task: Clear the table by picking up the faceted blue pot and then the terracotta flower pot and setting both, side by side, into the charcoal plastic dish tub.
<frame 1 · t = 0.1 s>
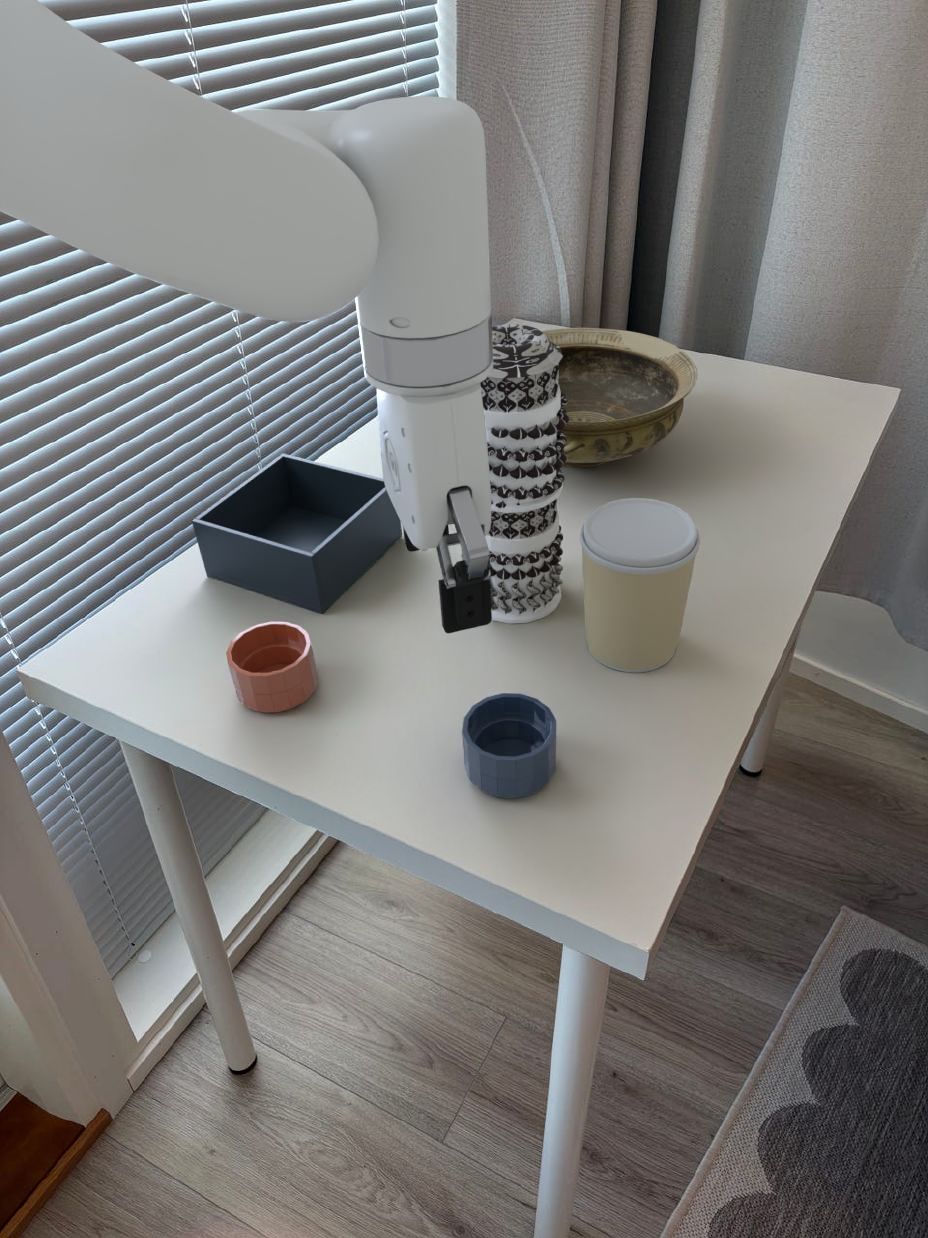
hand: (446, 584, 65), 15 cm above the table, tool pointing down, fingers open, 9 cm apart
faceted blue pot: (510, 767, 72), on the table
ceramic bowl: (581, 451, 109), on the table
decorative candle: (516, 596, 88), on the table
terracotta flower pot: (278, 688, 80), on the table
tub: (306, 556, 95), on the table
coffee cup: (631, 645, 82), on the table
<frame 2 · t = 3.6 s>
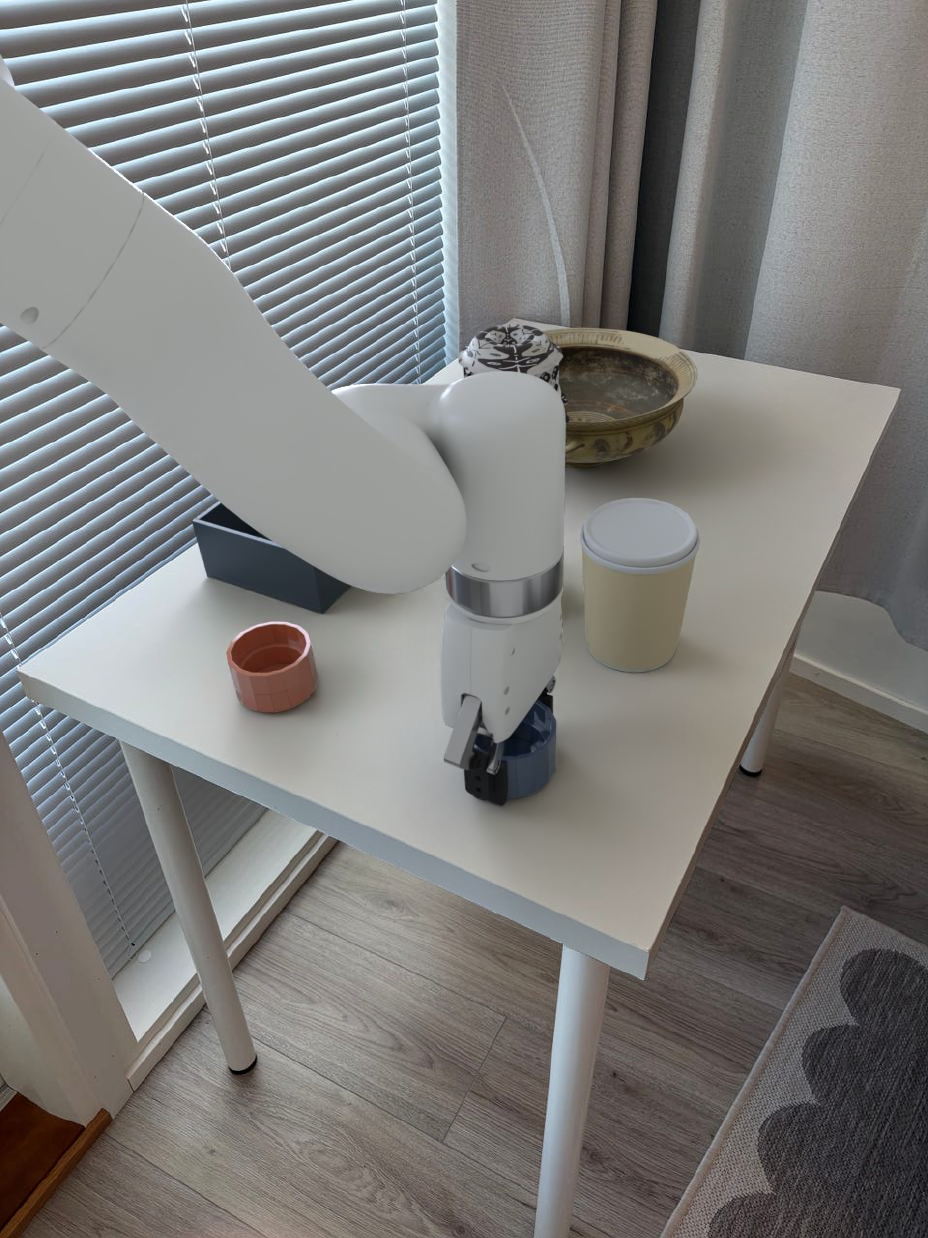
hand: (510, 760, 71), 1 cm above the table, tool pointing down, fingers closed on faceted blue pot, 6 cm apart
faceted blue pot: (510, 767, 72), on the table, touching gripper
everything else where it was.
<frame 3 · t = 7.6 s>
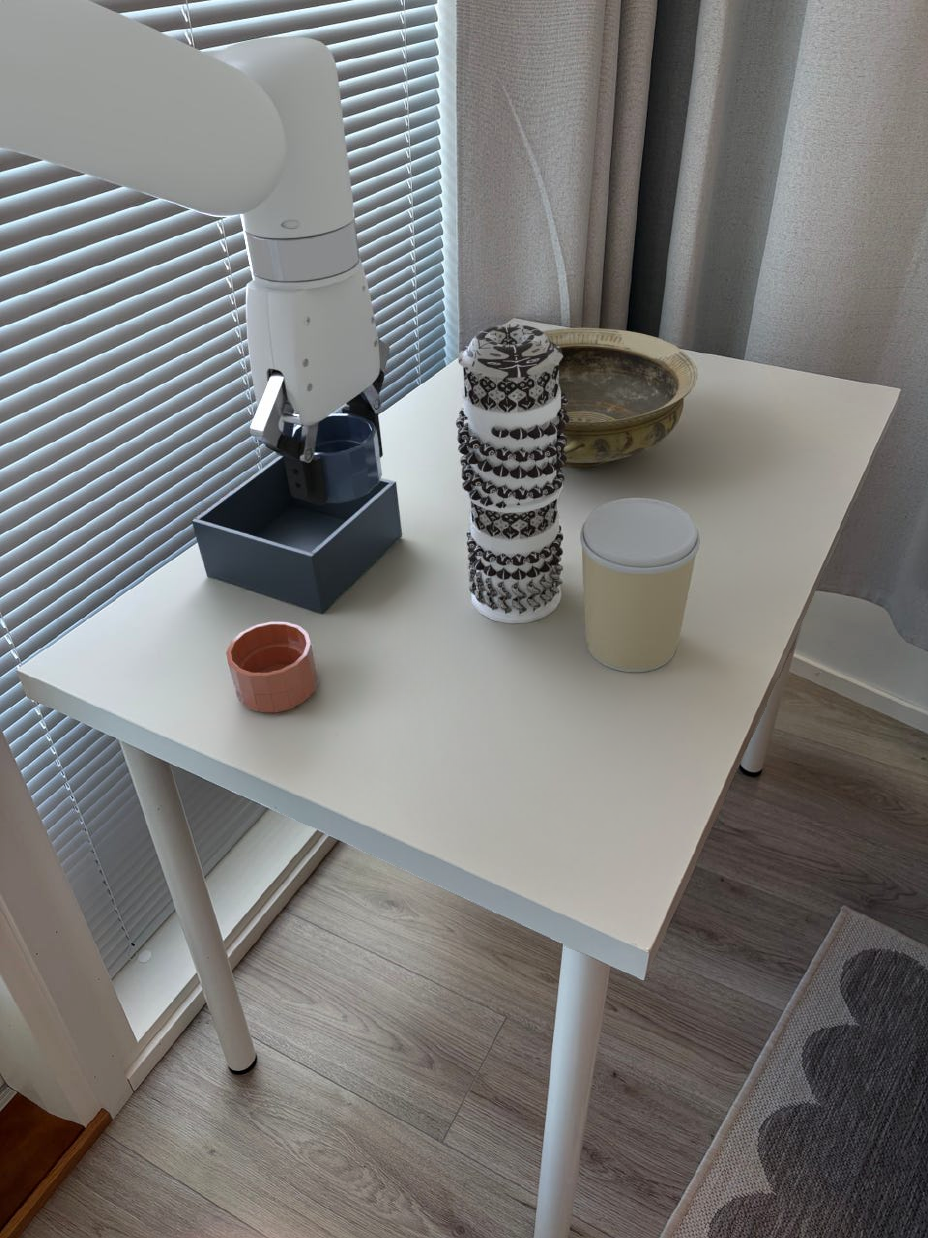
hand: (338, 475, 76), 16 cm above the table, tool pointing down, fingers closed on faceted blue pot, 6 cm apart
faceted blue pot: (339, 483, 76), point 15 cm above the table, touching gripper
everything else where it was.
when the fingers open (5 cm above the table, at t = 11.9 s): faceted blue pot drops 2 cm and tips over, resting on tub.
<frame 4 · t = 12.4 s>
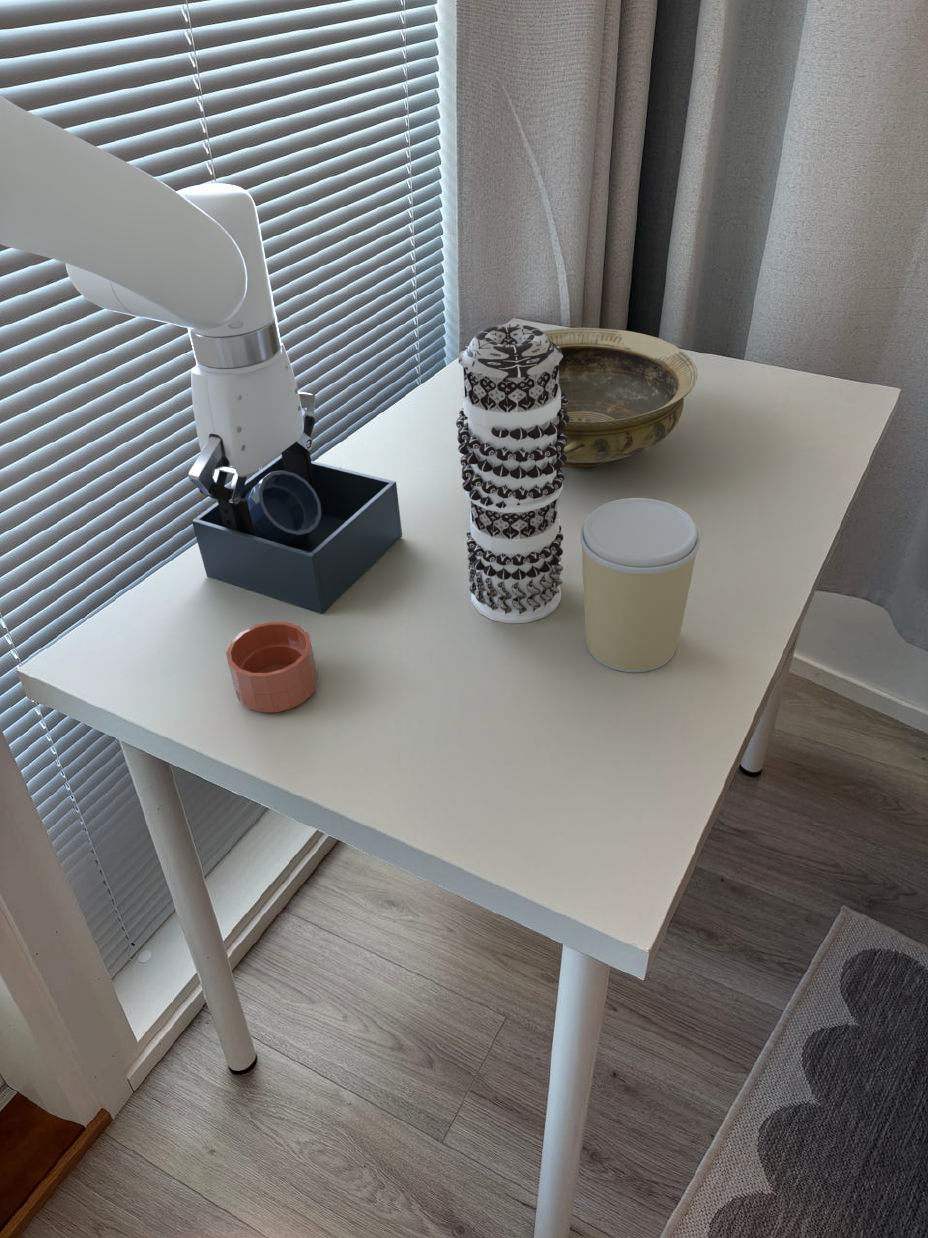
hand: (271, 508, 93), 5 cm above the table, tool pointing down, fingers open, 9 cm apart
faceted blue pot: (269, 521, 95), point 3 cm above the table, tilted 47°, touching tub
everything else where it was.
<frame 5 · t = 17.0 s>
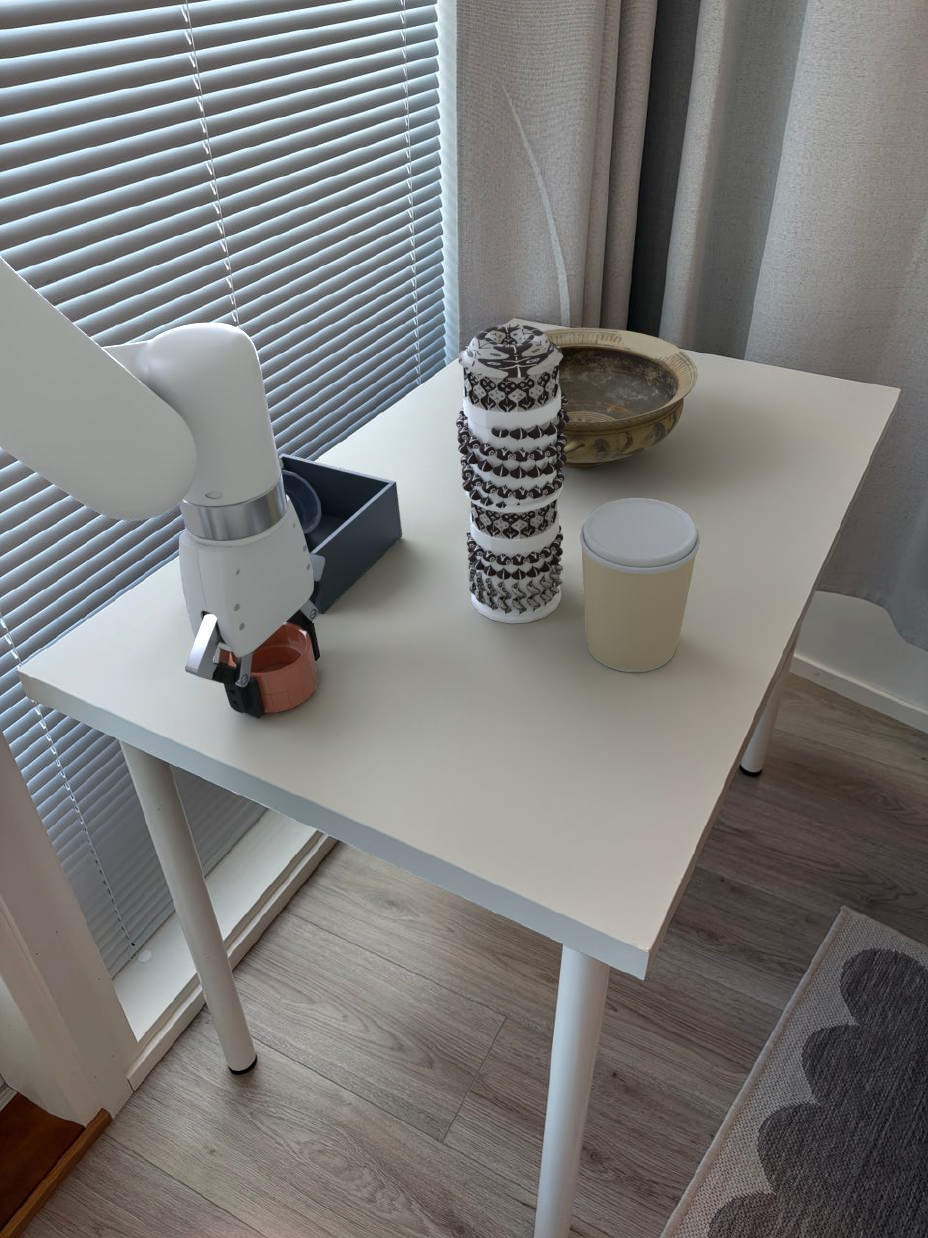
hand: (276, 681, 80), 1 cm above the table, tool pointing down, fingers closed on terracotta flower pot, 6 cm apart
terracotta flower pot: (278, 688, 80), on the table, touching gripper
everything else where it was.
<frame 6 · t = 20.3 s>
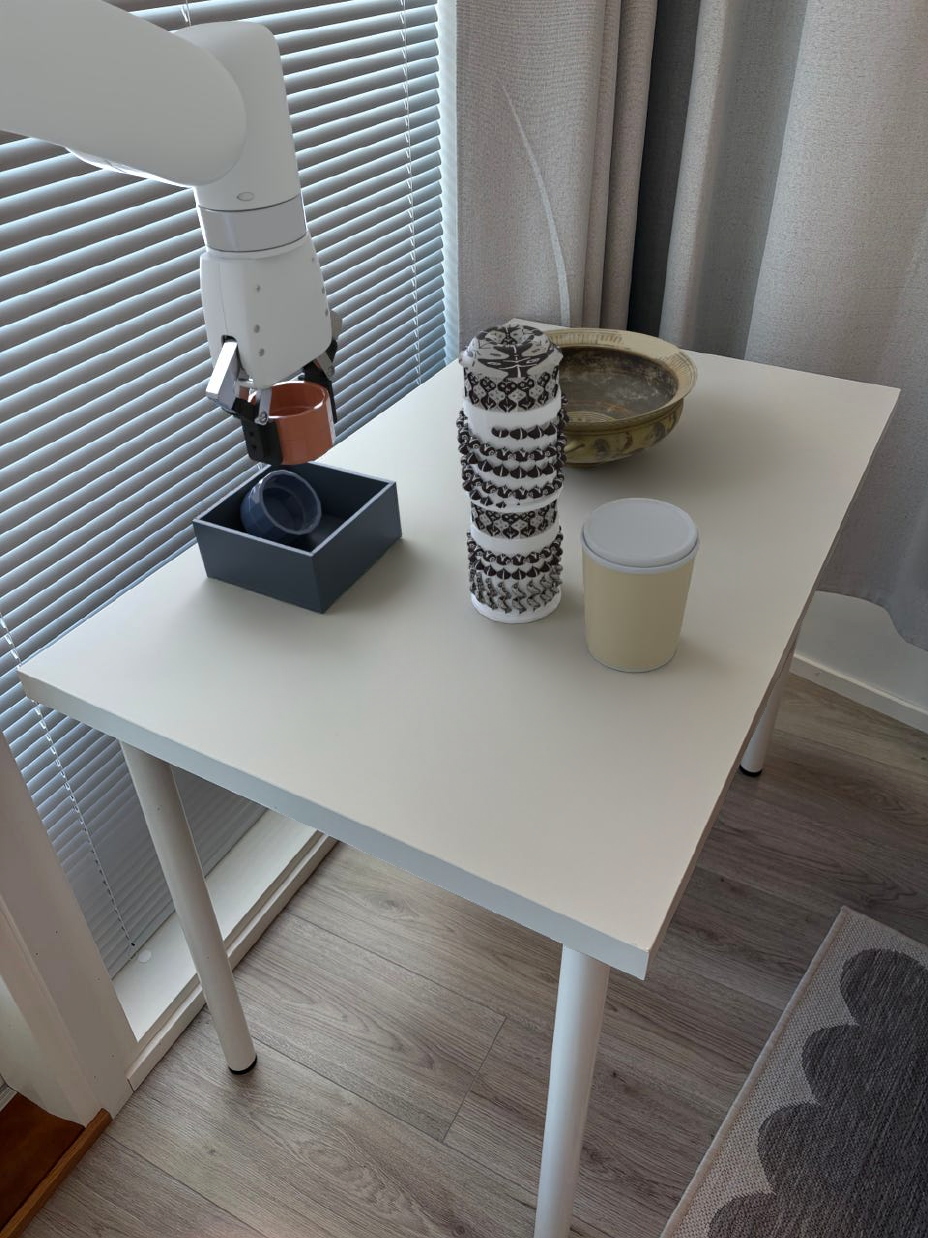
hand: (294, 439, 80), 16 cm above the table, tool pointing down, fingers closed on terracotta flower pot, 6 cm apart
terracotta flower pot: (296, 447, 81), point 15 cm above the table, touching gripper
everything else where it was.
when the fingers open (5 cm above the table, at t = 23.6 s): terracotta flower pot stays where it is, resting on faceted blue pot, tub.
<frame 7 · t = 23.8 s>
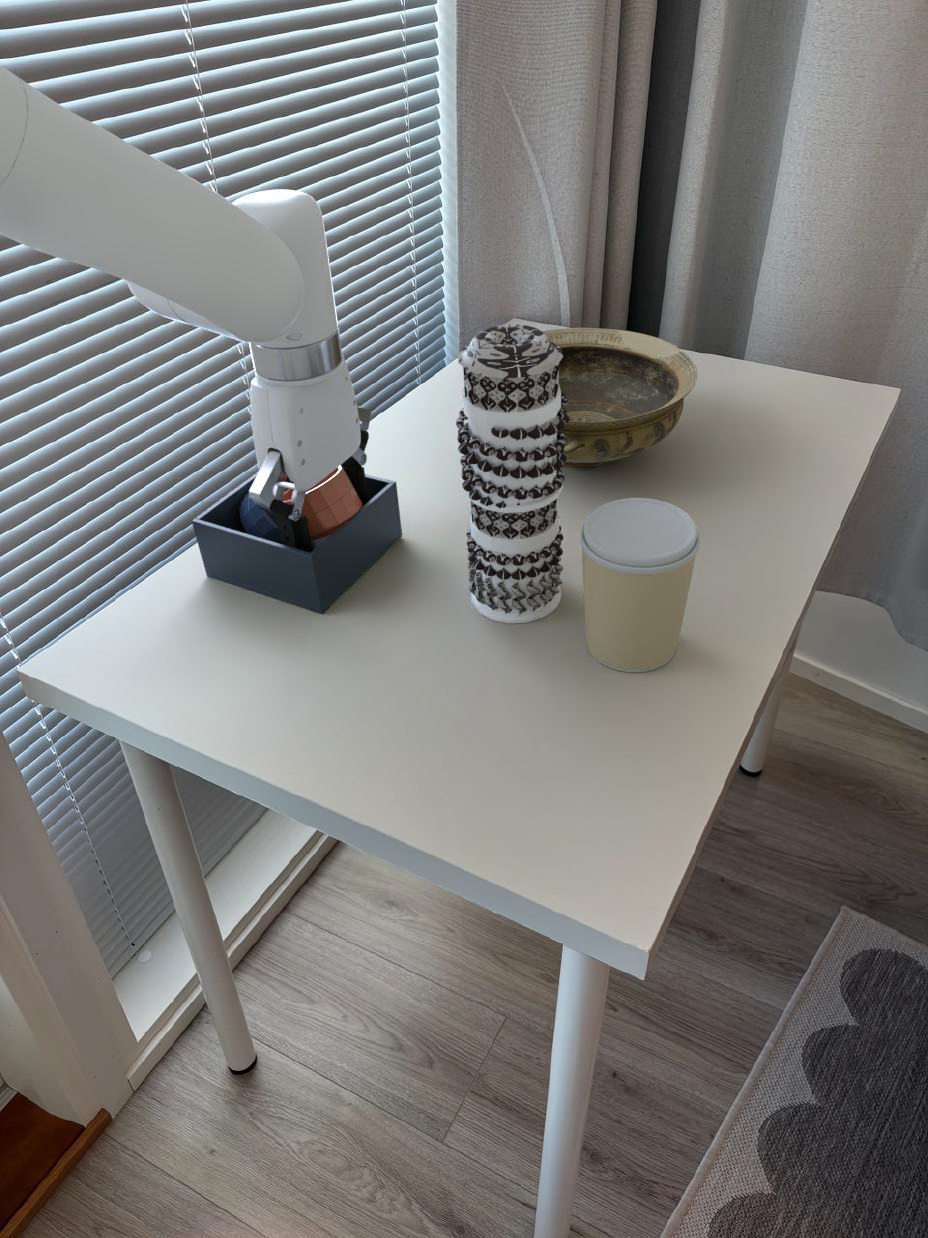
hand: (326, 523, 91), 5 cm above the table, tool pointing down, fingers open, 8 cm apart
faceted blue pot: (268, 521, 95), point 3 cm above the table, tilted 48°, touching terracotta flower pot, tub
terracotta flower pot: (333, 524, 91), point 5 cm above the table, tilted 26°, touching faceted blue pot, tub
everything else where it was.
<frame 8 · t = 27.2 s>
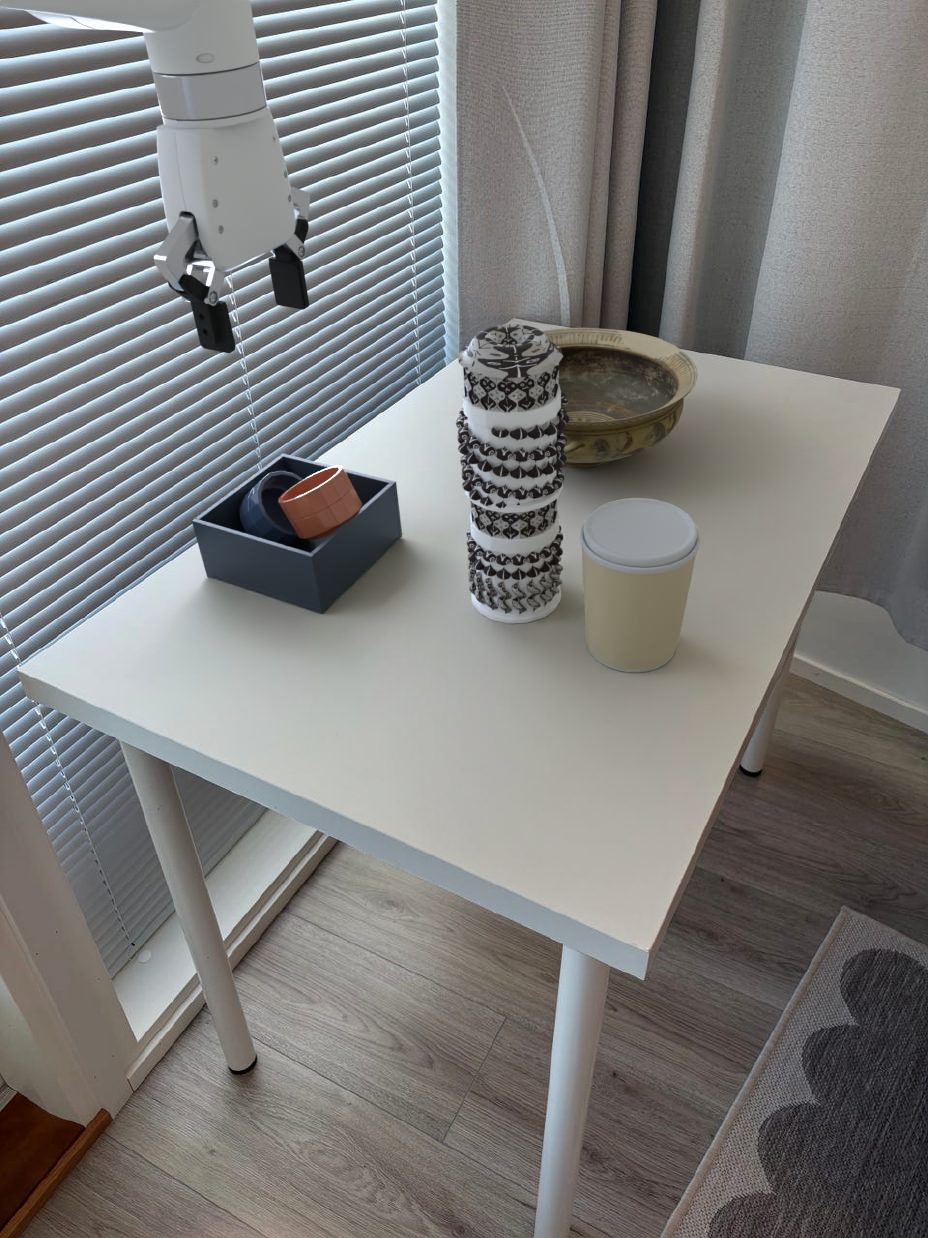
hand: (257, 327, 79), 24 cm above the table, tool pointing down, fingers open, 9 cm apart
nothing on the table moved.
at the end: faceted blue pot inside the target area in the tub (4.5 cm from its centre), point 2.7 cm above the tub's base; terracotta flower pot inside the target area in the tub (3.8 cm from its centre), point 4.6 cm above the tub's base; the gripper is holding nothing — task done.
